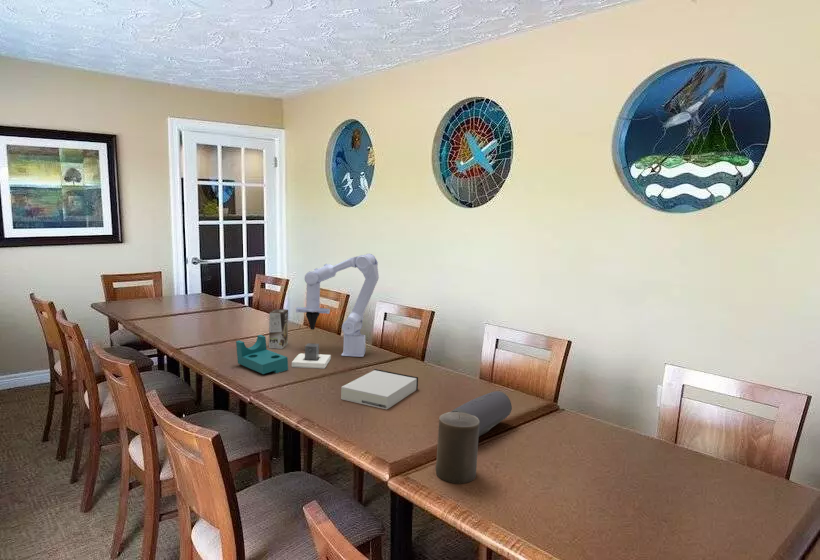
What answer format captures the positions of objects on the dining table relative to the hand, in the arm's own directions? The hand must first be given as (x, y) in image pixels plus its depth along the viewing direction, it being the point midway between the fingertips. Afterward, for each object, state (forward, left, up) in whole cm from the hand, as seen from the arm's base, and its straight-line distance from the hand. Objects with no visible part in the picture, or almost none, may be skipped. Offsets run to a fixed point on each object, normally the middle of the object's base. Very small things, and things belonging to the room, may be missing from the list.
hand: (312, 329), depth 230 cm
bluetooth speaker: (-65, +80, -10) cm, 104 cm away
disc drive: (-34, +52, -10) cm, 63 cm away
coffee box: (+16, -4, -10) cm, 19 cm away
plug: (-4, +20, -9) cm, 22 cm away
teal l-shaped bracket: (+13, +29, -10) cm, 33 cm away
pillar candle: (-57, +105, -10) cm, 120 cm away
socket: (-4, +20, -9) cm, 22 cm away
